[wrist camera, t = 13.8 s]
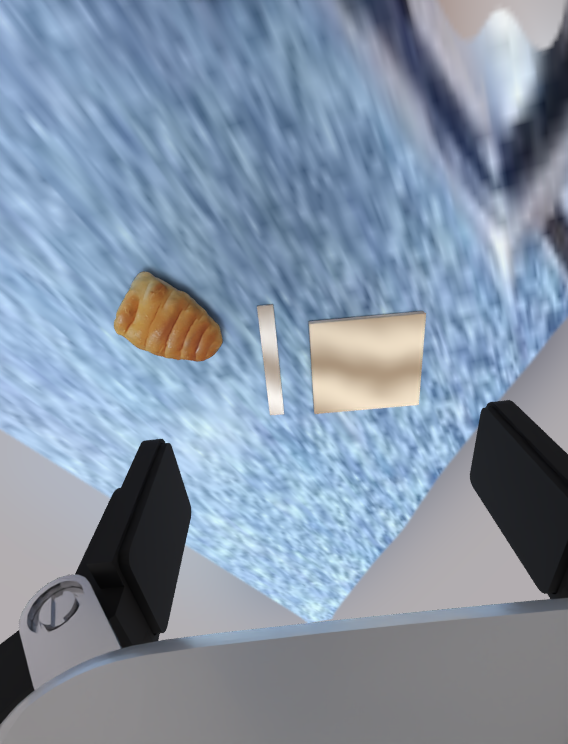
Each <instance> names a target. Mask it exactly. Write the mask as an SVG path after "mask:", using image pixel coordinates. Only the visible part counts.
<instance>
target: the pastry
mask: <svg viewBox="0 0 568 744" xmlns="http://www.w3.org/2000/svg"><path fill="white" fill-rule="evenodd" d="M114 329H115V331H116V333H117V334H119V335H122V336H124V337H125V338H126V339H127V340H129V341H130V342H131V343H132V344H133V345H135V346H136V347H137V348H139V349H142V350H145V351H149V352H151V353H153V354H155V355H158V356H163V357H165V358H173V359H177V360H180V359H184V360H185V359H186V360H191V361H192V360H193V361H204V360H206V359H208V358H210V357H211V356H213V355H214V354H215V353H216V352H217V351H218V349H219V347H220V346H221V345H222V341H223V340H222V335H221V331H220V327H219V325H218V324H217V323H216V322H215V321H214V320H213V319H212V318H211V317H210V316H209V315H208V314H207V312H206V310H205V309H203V308H202V307H201V306H200V305H198V304H197V303H196V301H195V300H194V299H193V298H191V297H190V296H189V295H188V294H187V293H185V292H183V291H179V290H177V289H176V288H174V287H172V286H171V285H169V284H168V283H167V282H165V281H163V280H161V279H159V278H156V277H154V276H153V275H152V274H151V273H149V272H141V273H139V274H138V275H137V276H136V278H135V279H134V281H133V282H132V284H131V287H130V289H129V291H128V293H127V294H126V296H125V298H124V300H123V301H122V303H121V305H120V307H119V309H118V311H117V313H116V319H115V321H114Z"/></svg>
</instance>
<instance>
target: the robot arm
mask: <svg viewBox="0 0 568 744" xmlns="http://www.w3.org/2000/svg"><path fill="white" fill-rule="evenodd" d="M470 480H471V484H472V486H473V488H474V489H475V491H476V492H477V494H478V496H479V497H480V498H481V500H482V502H483V503H484V505H485V506H486V508H487V509H488V511H489V513H490V514H491V516H492V517H493V519H494V521H495V522H496V524H497V525H498V527H499V528H500V529H501V532H502V533H503V535H504V536H505V538H506V539H507V541H508V542H509V544H510V546H511V547H512V549H513V550H514V552H515V553H516V555H517V556H518V558H519V560H520V561H521V563H522V564H523V565H524V567H525V569H526V570H527V572H528V574H529V575H530V577H531V578H532V580H533V581H534V583H535V585H536V586H537V587H538V589H539V590H540V591H541V592H542V593H544V594H545V593H547V594H548V595H549V597H550V599H548V600H535V601H526V602H514V603H504V604H494V605H483V606H473V607H463V608H452V609H442V610H432V611H422V612H413V613H403V614H393V615H384V616H373V617H365V618H354V619H344V620H335V621H325V622H315V623H306V624H297V625H288V626H279V627H269V628H260V629H252V630H242V631H232V632H224V633H216V634H208V635H200V636H193V637H184V638H176V639H168V640H162V641H158V639H159V634H160V633H164V632H165V631H166V629H167V625H168V621H169V616H170V612H171V607H172V602H173V598H174V593H175V588H176V583H177V579H178V575H179V569H180V565H181V561H182V555H183V551H184V547H185V542H186V537H187V533H188V528H189V524H190V519H191V505H190V502H189V499H188V496H187V493H186V489H185V486H184V483H183V480H182V477H181V474H180V471H179V468H178V465H177V461H176V458H175V455H174V452H173V449H172V446H171V444H170V443H165V441H164V440H163V439H156V440H147V441H143V442H142V443H141V445H140V447H139V449H138V451H137V453H136V456H135V458H134V460H133V462H132V465H131V467H130V469H129V471H128V473H127V476H126V478H125V480H124V482H123V484H122V487H121V488H118V489H116V490H115V491H114V493H113V495H112V497H111V499H110V501H109V503H108V505H107V507H106V509H105V512H104V514H103V516H102V518H101V520H100V522H99V524H98V527H97V529H96V531H95V533H94V535H93V537H92V539H91V541H90V544H89V546H88V548H87V550H86V552H85V554H84V556H83V559H82V561H81V563H80V565H79V567H78V569H77V571H76V573H75V575H67V576H63V577H59V578H57V579H55V580H54V581H52V582H50V583H48V584H47V585H45V586H44V587H43V588H41V589H40V590H39V591H38V592H37V593H36V594H35V595H34V596H33V597H32V598H31V599H30V600H29V602H28V603H27V605H26V606H25V608H24V610H23V611H22V614H21V617H20V620H19V631H17V632H16V633H15V634H14V635H12V636H11V637H9V638H8V639H7V640H6V641H4V642H3V643H1V644H0V744H568V454H567V453H566V452H565V451H564V450H563V449H562V448H560V446H558V445H557V444H556V443H555V442H554V441H553V440H552V439H551V438H550V437H549V436H548V435H547V434H546V433H545V432H544V431H543V430H542V429H541V428H540V427H539V426H538V425H537V424H535V422H534V421H532V420H531V419H530V418H529V417H528V416H527V415H526V414H525V413H524V412H523V411H522V410H521V409H520V408H519V407H518V406H517V405H516V404H515V403H514V402H512V401H510V400H506V401H497V402H490V403H488V404H487V406H486V408H483V409H482V410H481V414H480V420H479V426H478V431H477V437H476V443H475V448H474V455H473V460H472V466H471V471H470Z"/></svg>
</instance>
